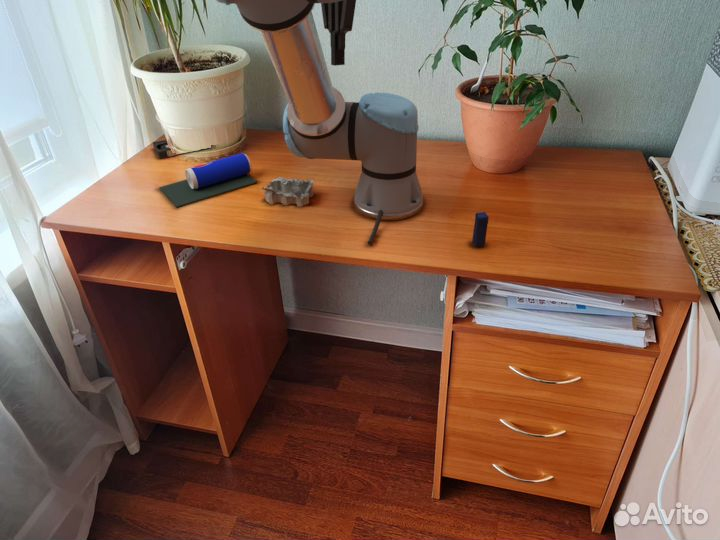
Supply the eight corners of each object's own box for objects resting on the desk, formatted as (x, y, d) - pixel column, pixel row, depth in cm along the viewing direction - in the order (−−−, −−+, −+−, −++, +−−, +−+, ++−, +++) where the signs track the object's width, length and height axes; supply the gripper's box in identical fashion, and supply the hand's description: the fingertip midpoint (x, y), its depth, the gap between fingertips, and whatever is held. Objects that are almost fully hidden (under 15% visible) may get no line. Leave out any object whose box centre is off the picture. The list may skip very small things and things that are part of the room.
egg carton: (261, 204, 118) (259, 187, 116) (274, 189, 124) (272, 173, 122) (306, 208, 116) (304, 191, 113) (317, 193, 122) (315, 176, 119)
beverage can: (245, 149, 127) (186, 165, 120) (254, 168, 127) (195, 185, 120) (241, 157, 132) (183, 173, 125) (249, 175, 132) (192, 193, 125)
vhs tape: (159, 159, 140) (157, 152, 139) (154, 149, 146) (152, 142, 145) (212, 148, 145) (210, 141, 144) (205, 139, 151) (203, 132, 150)
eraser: (482, 241, 103) (485, 210, 99) (485, 247, 101) (489, 216, 97) (471, 242, 103) (474, 211, 99) (474, 248, 101) (478, 217, 97)
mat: (236, 166, 135) (235, 165, 134) (257, 183, 127) (256, 181, 126) (159, 188, 125) (159, 187, 125) (176, 207, 117) (176, 206, 117)
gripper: (371, -57, 105) (368, 67, 117) (334, -56, 114) (335, 59, 126) (340, -59, 101) (340, 70, 113) (305, -58, 110) (308, 62, 122)
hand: (337, 64), depth 119 cm, fingers closed
